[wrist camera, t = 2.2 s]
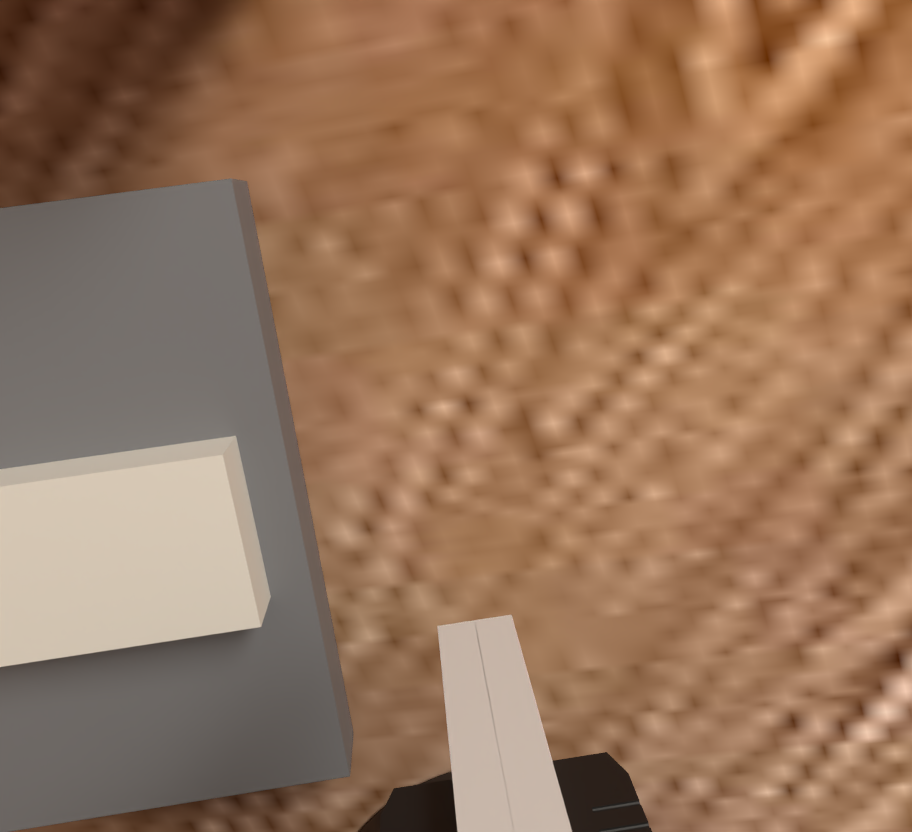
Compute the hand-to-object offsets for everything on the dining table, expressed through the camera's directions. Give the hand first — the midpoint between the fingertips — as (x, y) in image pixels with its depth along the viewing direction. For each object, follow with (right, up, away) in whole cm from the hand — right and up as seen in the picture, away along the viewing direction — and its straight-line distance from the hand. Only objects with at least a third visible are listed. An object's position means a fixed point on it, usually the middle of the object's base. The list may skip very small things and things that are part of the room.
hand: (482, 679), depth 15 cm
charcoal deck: (-13, +2, +13) cm, 18 cm away
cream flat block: (-12, +1, +10) cm, 16 cm away
